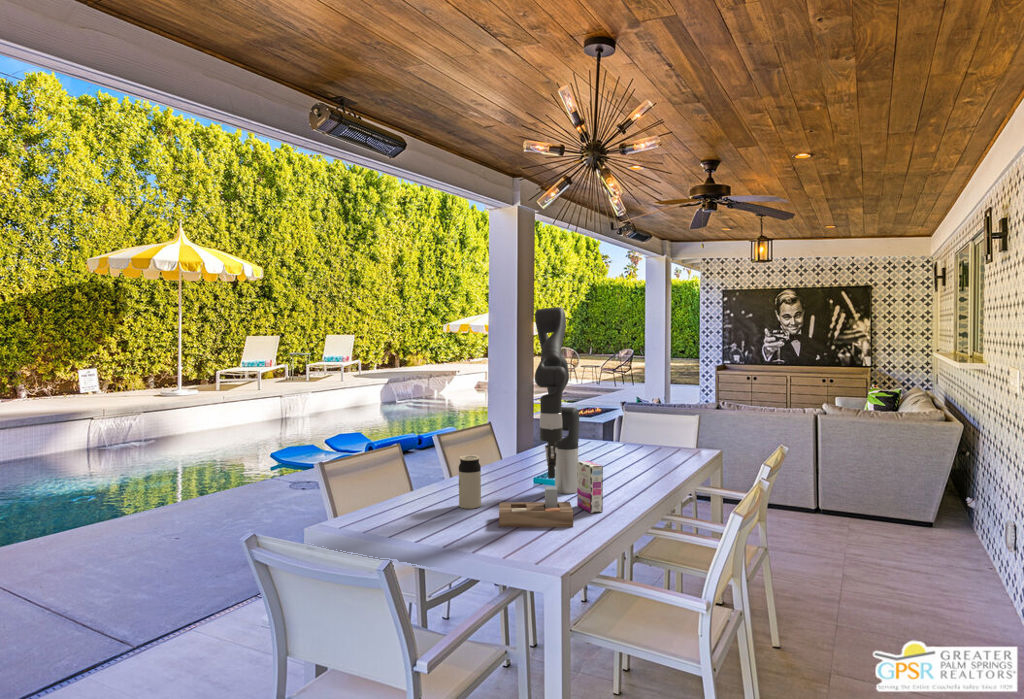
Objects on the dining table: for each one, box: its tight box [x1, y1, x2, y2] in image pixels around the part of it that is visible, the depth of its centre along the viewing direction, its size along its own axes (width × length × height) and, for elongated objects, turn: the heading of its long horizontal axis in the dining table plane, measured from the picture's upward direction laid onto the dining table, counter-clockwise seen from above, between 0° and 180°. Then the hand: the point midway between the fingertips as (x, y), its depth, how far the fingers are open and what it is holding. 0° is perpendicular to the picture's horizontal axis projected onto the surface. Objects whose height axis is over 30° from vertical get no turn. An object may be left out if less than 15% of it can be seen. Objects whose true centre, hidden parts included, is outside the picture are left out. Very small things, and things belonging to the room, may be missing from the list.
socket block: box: [498, 501, 574, 528], centre depth 219 cm, size 12×24×5 cm, turn 90°
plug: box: [544, 486, 559, 508], centre depth 220 cm, size 4×4×10 cm
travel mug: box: [458, 454, 482, 510], centre depth 239 cm, size 8×8×18 cm
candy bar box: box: [576, 460, 604, 514], centre depth 234 cm, size 11×5×16 cm, turn 21°
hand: (551, 477), depth 220 cm, fingers closed
